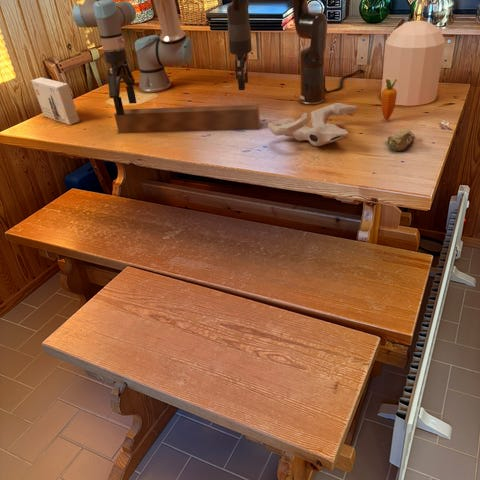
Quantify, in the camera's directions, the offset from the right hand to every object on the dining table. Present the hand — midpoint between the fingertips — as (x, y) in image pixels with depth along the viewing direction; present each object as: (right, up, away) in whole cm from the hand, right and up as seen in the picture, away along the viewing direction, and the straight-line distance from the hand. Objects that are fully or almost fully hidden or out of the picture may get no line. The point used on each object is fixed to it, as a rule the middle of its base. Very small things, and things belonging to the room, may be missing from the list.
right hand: (243, 86), depth 164 cm
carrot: (+51, -12, +2) cm, 53 cm away
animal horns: (+26, -22, -9) cm, 35 cm away
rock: (+50, -24, -16) cm, 58 cm away
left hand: (-44, -5, +11) cm, 45 cm away
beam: (-21, -12, +12) cm, 27 cm away
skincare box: (-78, -3, +33) cm, 85 cm away
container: (+66, +2, +21) cm, 69 cm away
